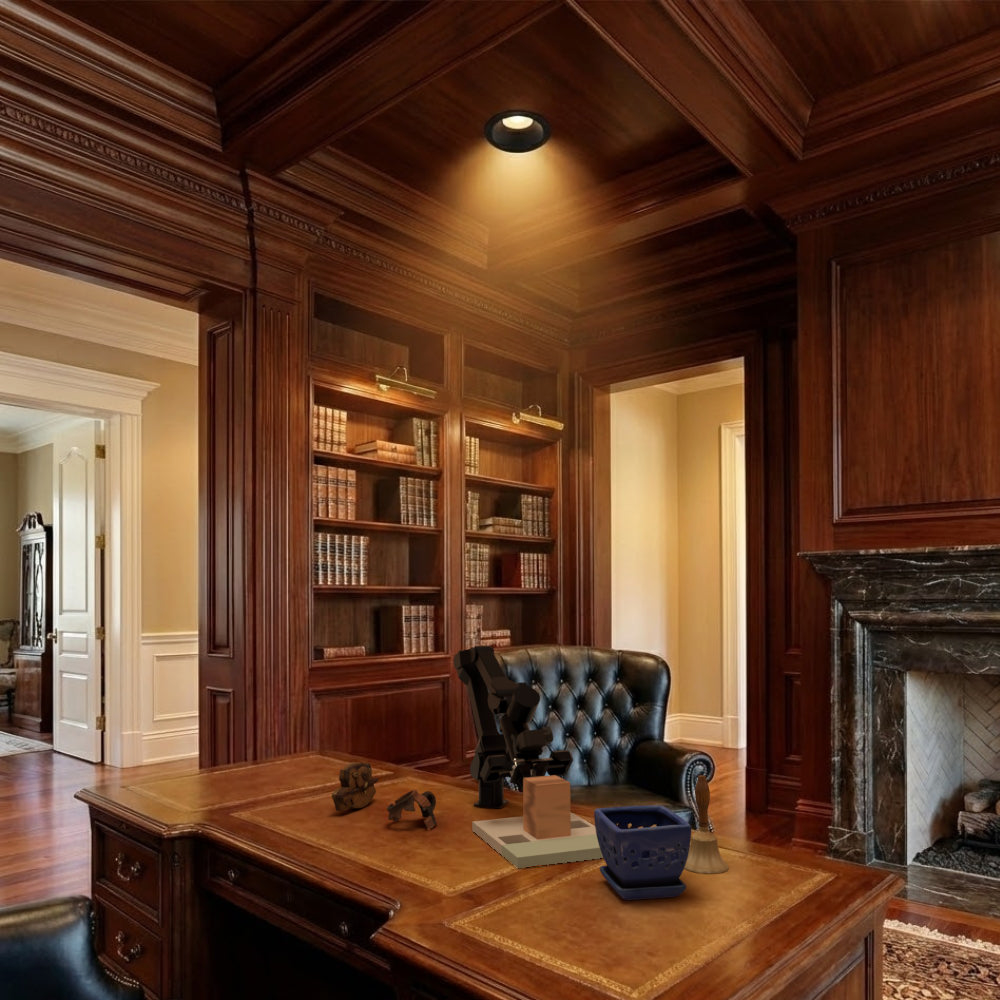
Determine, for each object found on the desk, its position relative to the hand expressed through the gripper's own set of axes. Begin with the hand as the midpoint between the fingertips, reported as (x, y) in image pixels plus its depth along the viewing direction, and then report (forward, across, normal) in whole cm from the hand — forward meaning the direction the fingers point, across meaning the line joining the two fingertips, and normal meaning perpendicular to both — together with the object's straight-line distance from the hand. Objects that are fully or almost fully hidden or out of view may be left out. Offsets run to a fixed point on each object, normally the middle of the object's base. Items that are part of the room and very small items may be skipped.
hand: (538, 802), depth 173 cm
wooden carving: (-20, -29, +30) cm, 47 cm away
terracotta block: (+6, 0, +1) cm, 6 cm away
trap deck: (+5, 0, +5) cm, 7 cm away
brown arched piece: (-8, -20, +18) cm, 28 cm away
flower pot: (+28, +5, -18) cm, 34 cm away
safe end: (+13, 0, -4) cm, 14 cm away
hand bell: (+24, +21, -14) cm, 34 cm away
